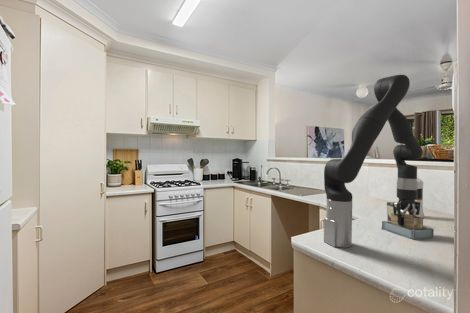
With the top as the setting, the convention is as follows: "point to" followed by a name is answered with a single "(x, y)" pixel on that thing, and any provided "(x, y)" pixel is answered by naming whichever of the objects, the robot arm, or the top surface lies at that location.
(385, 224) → the crate
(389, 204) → the food container
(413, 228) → the small crate
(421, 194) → the vodka
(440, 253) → the top surface
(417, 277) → the top surface
